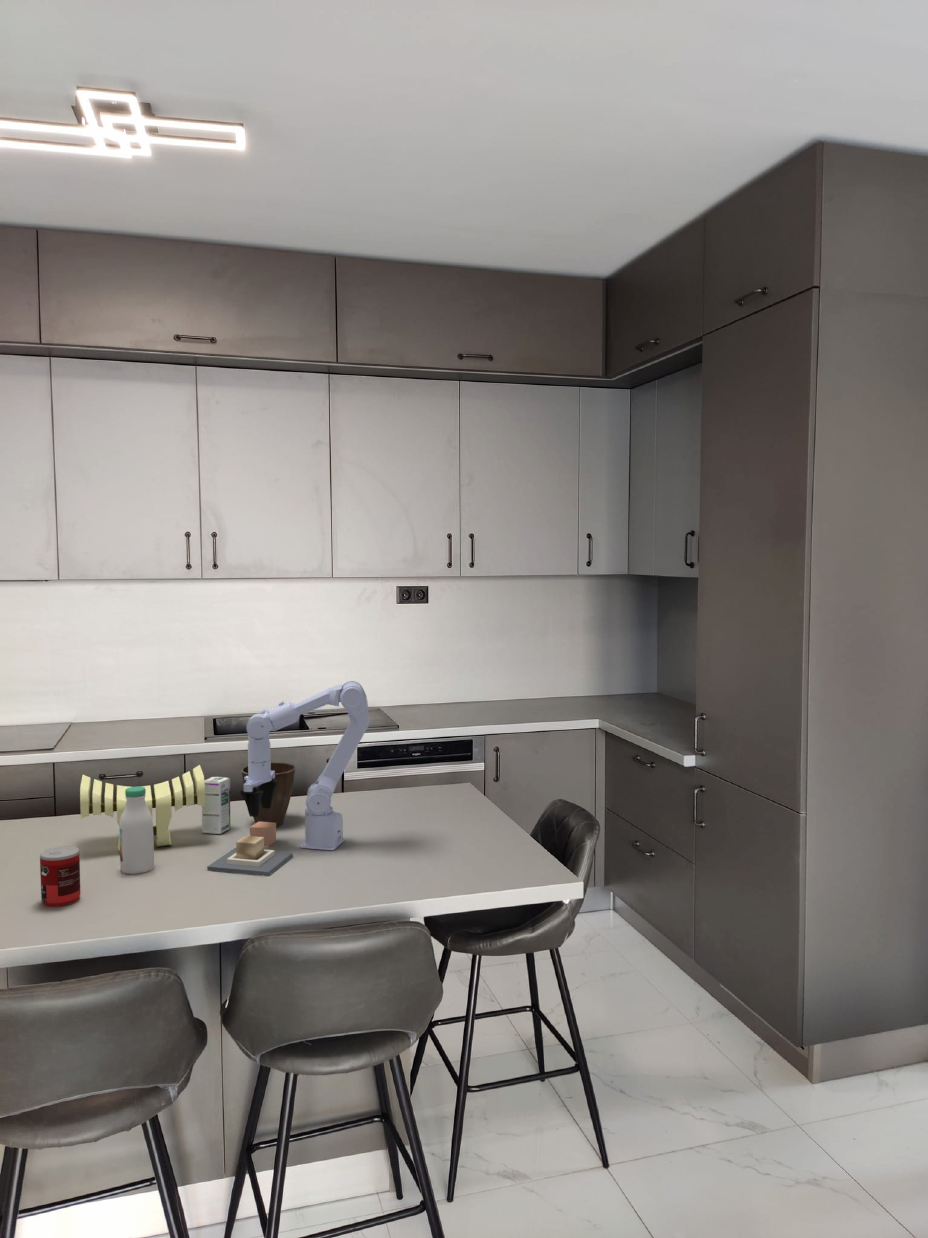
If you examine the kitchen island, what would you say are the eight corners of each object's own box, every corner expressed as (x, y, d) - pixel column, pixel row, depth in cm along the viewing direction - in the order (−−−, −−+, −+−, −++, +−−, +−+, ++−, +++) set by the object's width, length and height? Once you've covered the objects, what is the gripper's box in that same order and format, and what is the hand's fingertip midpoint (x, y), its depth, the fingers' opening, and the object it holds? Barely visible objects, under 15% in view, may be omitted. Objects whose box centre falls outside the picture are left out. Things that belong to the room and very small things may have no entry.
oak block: (264, 856, 218) (264, 837, 218) (255, 863, 213) (254, 843, 213) (245, 855, 219) (245, 835, 219) (236, 862, 214) (236, 842, 214)
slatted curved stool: (82, 859, 219) (79, 789, 218) (84, 839, 234) (82, 774, 233) (206, 844, 230) (204, 778, 229) (201, 827, 245) (199, 764, 244)
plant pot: (231, 825, 247) (230, 769, 246) (270, 813, 259) (269, 759, 258) (267, 835, 238) (266, 777, 237) (306, 821, 250) (306, 766, 249)
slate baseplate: (292, 856, 221) (292, 848, 221) (268, 876, 208) (268, 867, 207) (235, 851, 225) (234, 843, 225) (207, 870, 211) (207, 861, 211)
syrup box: (220, 834, 238) (221, 781, 238) (201, 833, 239) (201, 780, 239) (230, 829, 243) (231, 777, 243) (211, 827, 245) (211, 776, 244)
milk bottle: (161, 866, 214) (159, 785, 213) (139, 876, 207) (137, 793, 206) (135, 862, 217) (133, 783, 216) (113, 872, 210) (111, 791, 208)
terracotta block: (276, 841, 234) (276, 822, 233) (267, 847, 229) (267, 828, 228) (259, 839, 235) (258, 821, 234) (250, 845, 230) (250, 827, 229)
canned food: (49, 894, 196) (47, 846, 196) (85, 893, 197) (84, 845, 196) (35, 908, 189) (33, 858, 188) (73, 906, 189) (72, 857, 189)
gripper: (257, 753, 234) (258, 803, 235) (232, 766, 220) (233, 819, 221) (281, 755, 233) (282, 805, 234) (258, 767, 219) (259, 821, 220)
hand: (260, 812), depth 227 cm, fingers open, 7 cm apart
